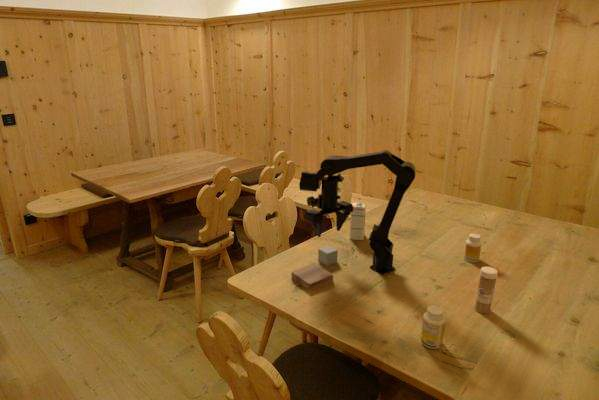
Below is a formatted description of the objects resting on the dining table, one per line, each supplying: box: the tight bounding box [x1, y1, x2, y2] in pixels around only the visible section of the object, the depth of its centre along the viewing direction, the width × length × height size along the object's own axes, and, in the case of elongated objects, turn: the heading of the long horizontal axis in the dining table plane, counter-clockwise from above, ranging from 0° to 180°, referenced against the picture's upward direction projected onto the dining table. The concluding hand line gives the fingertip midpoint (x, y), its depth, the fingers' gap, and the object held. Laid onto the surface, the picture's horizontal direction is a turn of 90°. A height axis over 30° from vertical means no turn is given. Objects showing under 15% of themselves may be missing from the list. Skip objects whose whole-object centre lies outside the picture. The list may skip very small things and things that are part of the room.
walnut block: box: [290, 263, 334, 292], centre depth 136 cm, size 10×10×3 cm
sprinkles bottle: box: [474, 266, 499, 314], centre depth 119 cm, size 5×5×13 cm
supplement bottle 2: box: [463, 233, 482, 263], centre depth 150 cm, size 5×5×10 cm
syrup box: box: [349, 202, 367, 241], centre depth 168 cm, size 6×6×14 cm
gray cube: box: [317, 244, 339, 267], centre depth 149 cm, size 5×5×5 cm
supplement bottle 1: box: [420, 305, 447, 350], centre depth 105 cm, size 6×6×10 cm
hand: (328, 233), depth 146 cm, fingers open, 9 cm apart
